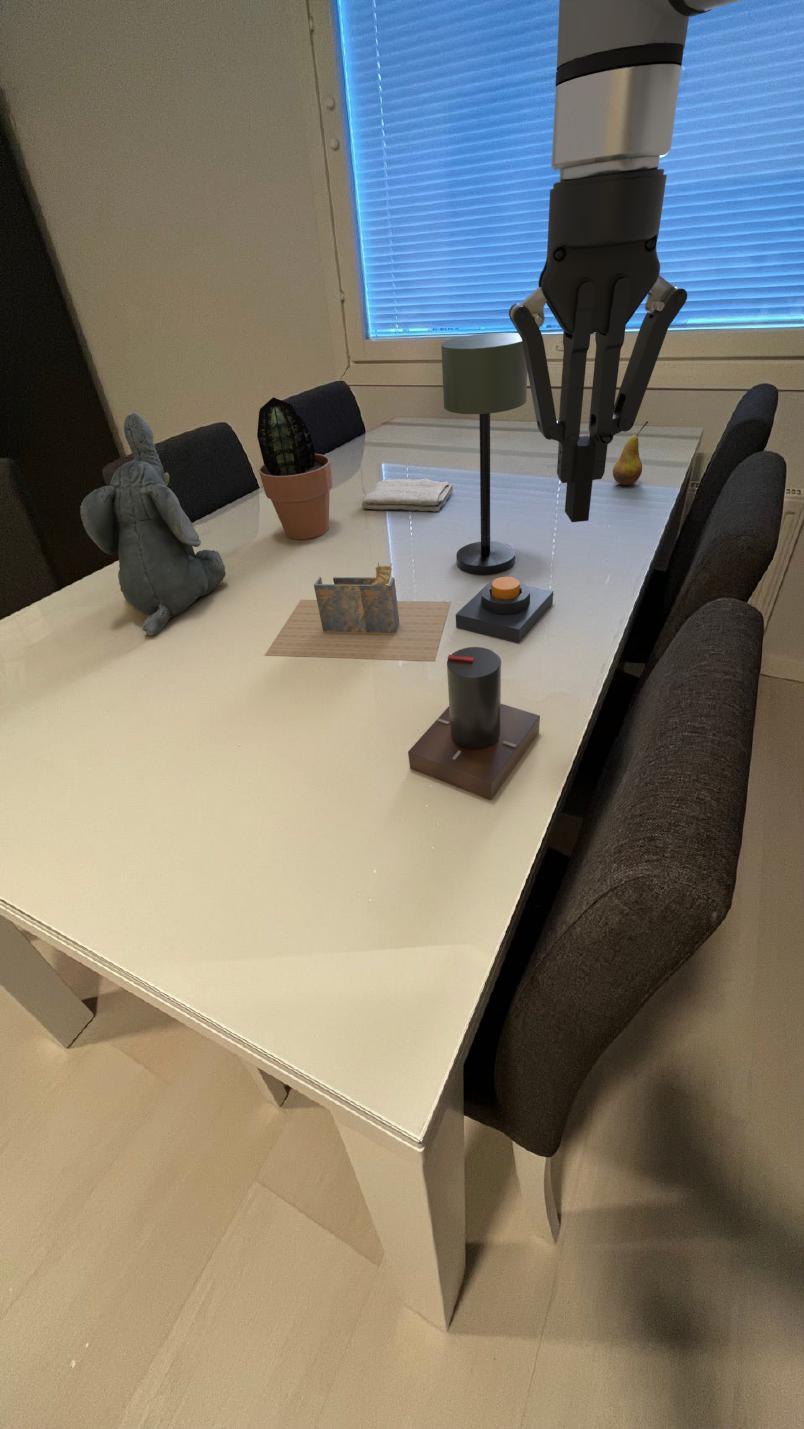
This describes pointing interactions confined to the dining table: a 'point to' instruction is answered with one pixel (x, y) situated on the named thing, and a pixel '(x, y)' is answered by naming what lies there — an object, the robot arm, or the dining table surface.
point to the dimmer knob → (474, 696)
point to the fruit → (629, 462)
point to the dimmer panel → (475, 753)
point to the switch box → (504, 612)
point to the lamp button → (505, 588)
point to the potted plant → (293, 471)
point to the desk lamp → (484, 420)
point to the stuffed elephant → (150, 534)
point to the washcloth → (408, 495)
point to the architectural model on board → (362, 622)
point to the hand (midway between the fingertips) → (576, 515)
